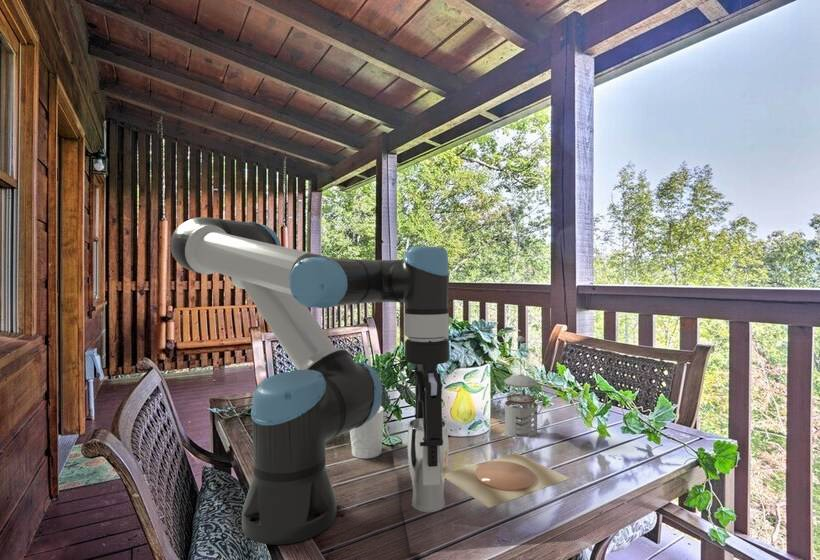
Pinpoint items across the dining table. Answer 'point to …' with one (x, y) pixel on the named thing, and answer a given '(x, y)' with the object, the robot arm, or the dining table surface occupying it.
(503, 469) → the coaster
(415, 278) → the robot arm
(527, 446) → the dining table surface
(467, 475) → the beige mat with oval
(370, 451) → the white cup
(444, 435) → the beer glass
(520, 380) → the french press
